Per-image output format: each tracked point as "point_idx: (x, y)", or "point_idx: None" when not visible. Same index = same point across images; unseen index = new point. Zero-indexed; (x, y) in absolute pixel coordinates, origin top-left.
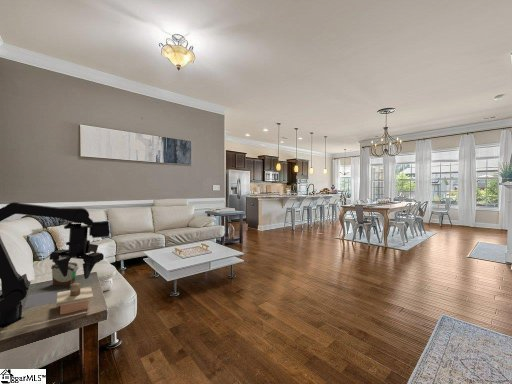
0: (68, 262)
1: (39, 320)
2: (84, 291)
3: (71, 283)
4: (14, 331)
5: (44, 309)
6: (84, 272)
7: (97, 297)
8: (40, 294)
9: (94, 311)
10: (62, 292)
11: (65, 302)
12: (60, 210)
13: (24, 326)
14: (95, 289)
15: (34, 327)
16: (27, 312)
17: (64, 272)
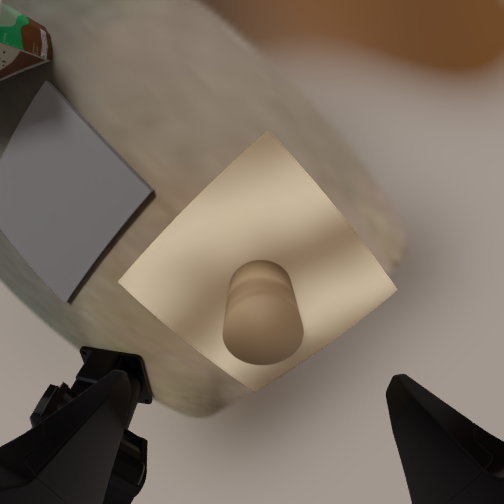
0: (36, 482)
1: (202, 357)
2: (291, 233)
3: (38, 52)
4: (193, 405)
5: None
6: (413, 472)
7: (294, 106)
8: (5, 183)
9: (381, 262)
10: (148, 278)
11: (283, 371)
12: None
13: (192, 387)
14: (196, 16)
15: (231, 388)
16: (98, 314)
17: (117, 431)
